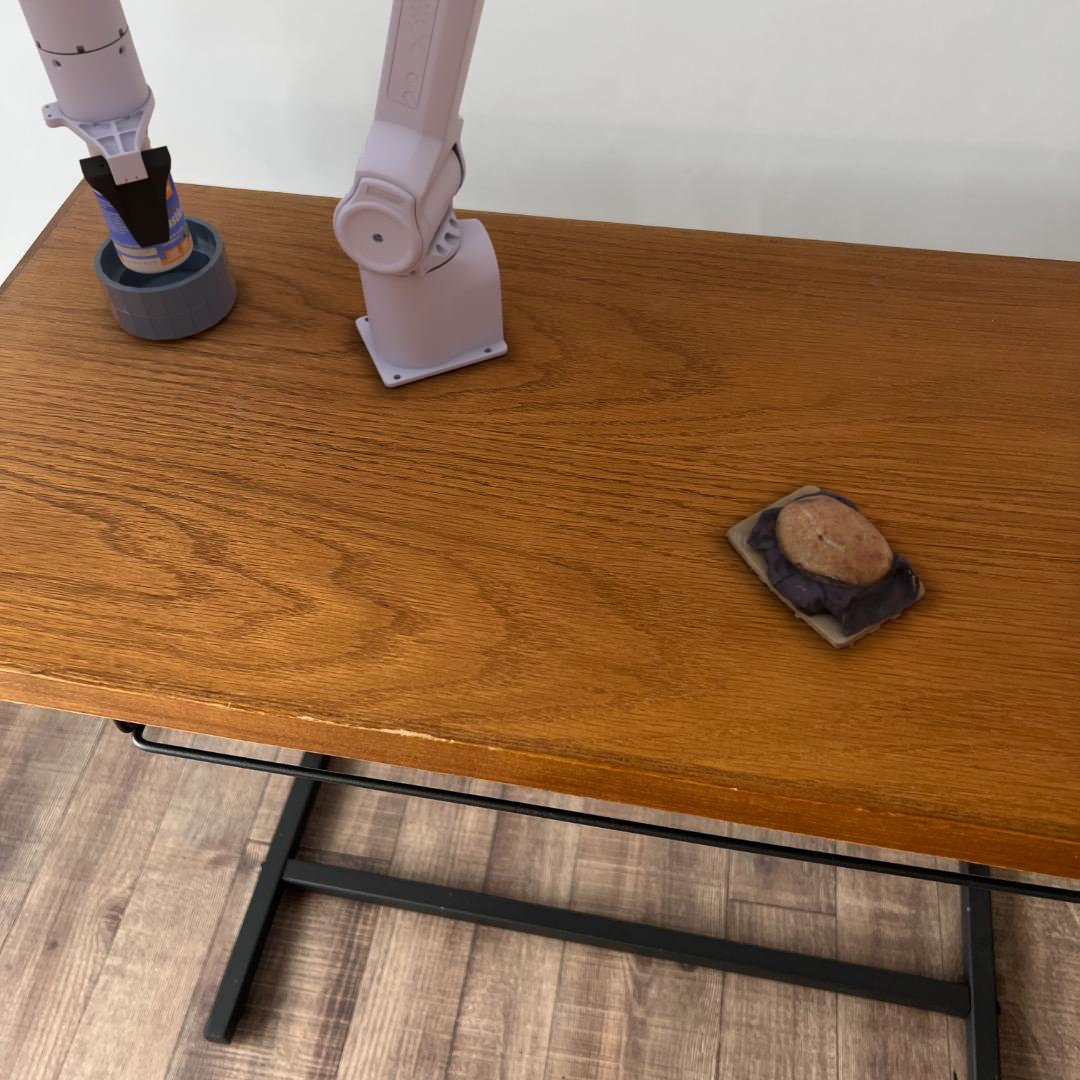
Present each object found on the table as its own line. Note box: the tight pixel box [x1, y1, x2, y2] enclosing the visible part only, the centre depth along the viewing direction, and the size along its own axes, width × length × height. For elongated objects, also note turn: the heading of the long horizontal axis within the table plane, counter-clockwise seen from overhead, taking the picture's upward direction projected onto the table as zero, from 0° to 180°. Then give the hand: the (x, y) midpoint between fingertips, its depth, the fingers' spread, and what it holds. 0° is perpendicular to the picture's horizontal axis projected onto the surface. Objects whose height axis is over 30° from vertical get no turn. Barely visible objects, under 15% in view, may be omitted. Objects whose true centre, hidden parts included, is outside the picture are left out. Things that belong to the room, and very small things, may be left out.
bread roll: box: [725, 484, 926, 650], centre depth 66 cm, size 11×8×4 cm
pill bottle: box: [85, 133, 193, 273], centre depth 77 cm, size 5×5×10 cm
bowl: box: [92, 214, 238, 341], centre depth 82 cm, size 9×9×5 cm
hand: (147, 219), depth 78 cm, fingers closed on pill bottle, 5 cm apart
